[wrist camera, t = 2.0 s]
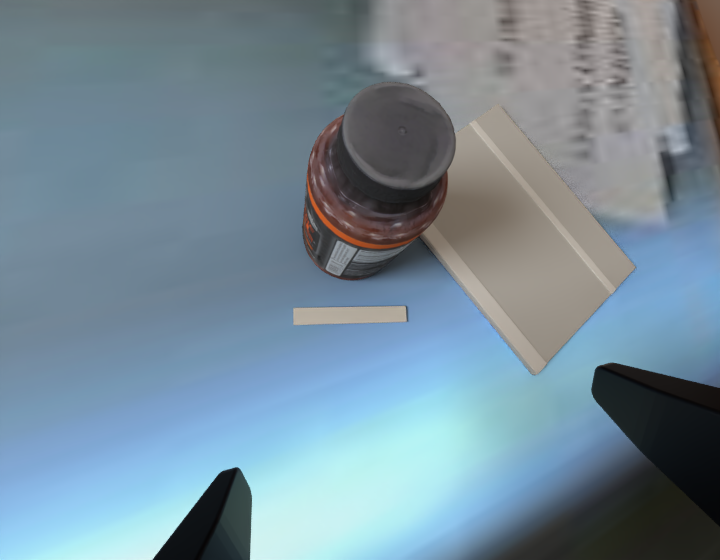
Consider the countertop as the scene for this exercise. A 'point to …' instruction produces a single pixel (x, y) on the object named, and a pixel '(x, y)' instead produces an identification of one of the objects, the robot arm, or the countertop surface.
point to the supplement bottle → (376, 179)
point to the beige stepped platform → (521, 241)
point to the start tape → (349, 315)
